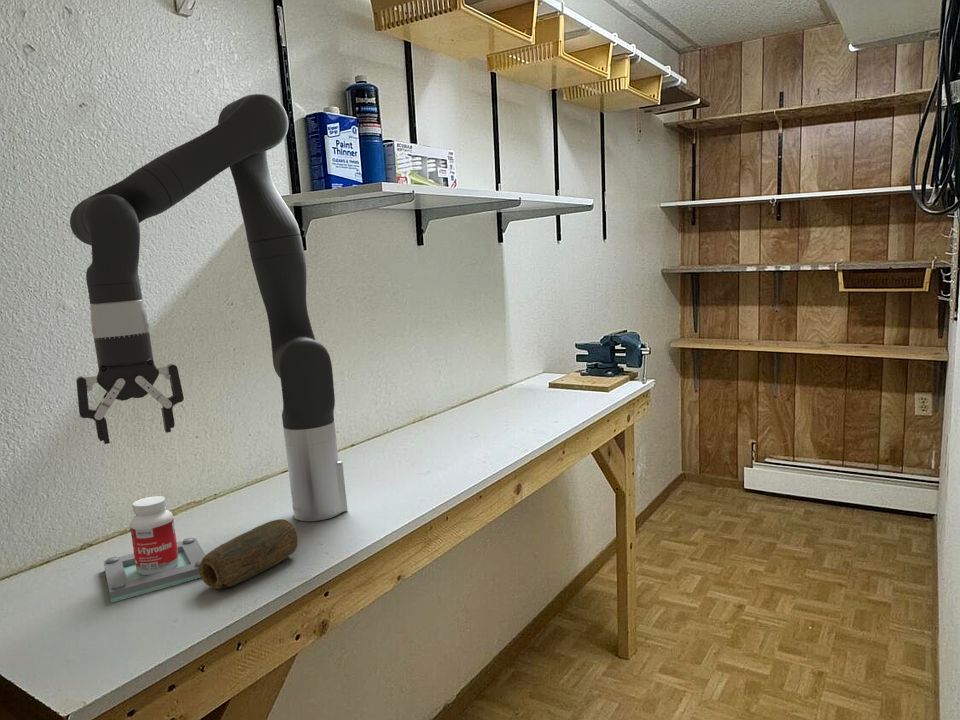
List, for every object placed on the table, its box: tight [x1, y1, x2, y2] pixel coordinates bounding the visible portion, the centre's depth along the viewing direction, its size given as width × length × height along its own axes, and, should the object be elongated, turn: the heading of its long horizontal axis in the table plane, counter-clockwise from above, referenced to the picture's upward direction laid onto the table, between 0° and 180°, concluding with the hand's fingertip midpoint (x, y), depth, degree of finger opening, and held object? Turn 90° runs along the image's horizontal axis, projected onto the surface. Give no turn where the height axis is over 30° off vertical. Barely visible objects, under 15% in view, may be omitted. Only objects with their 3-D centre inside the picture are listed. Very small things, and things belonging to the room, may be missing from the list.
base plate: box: [103, 537, 207, 603], centre depth 111 cm, size 14×14×2 cm
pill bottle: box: [129, 495, 179, 576], centre depth 110 cm, size 6×6×11 cm
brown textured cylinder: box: [199, 518, 299, 590], centre depth 108 cm, size 15×7×7 cm, turn 150°
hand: (137, 437), depth 108 cm, fingers open, 8 cm apart
